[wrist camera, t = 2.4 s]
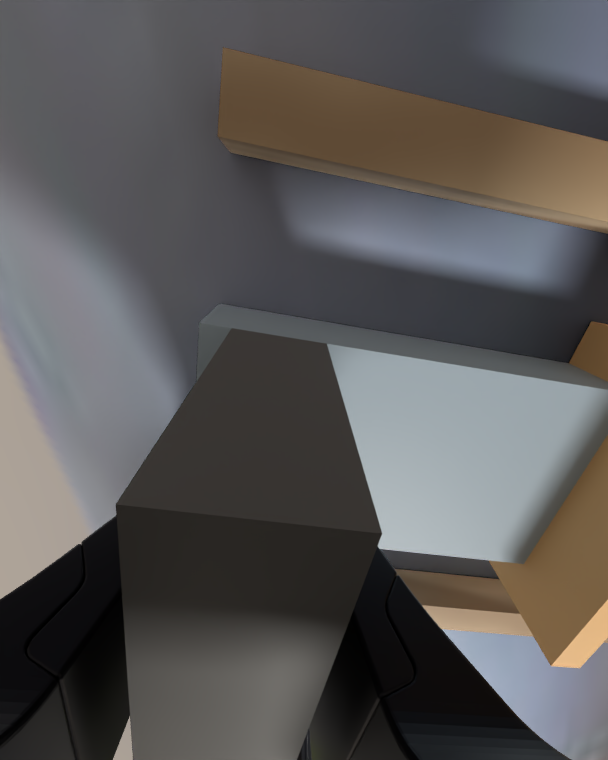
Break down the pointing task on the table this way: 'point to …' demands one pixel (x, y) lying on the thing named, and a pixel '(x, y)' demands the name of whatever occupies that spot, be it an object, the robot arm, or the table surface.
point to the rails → (425, 176)
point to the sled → (346, 514)
